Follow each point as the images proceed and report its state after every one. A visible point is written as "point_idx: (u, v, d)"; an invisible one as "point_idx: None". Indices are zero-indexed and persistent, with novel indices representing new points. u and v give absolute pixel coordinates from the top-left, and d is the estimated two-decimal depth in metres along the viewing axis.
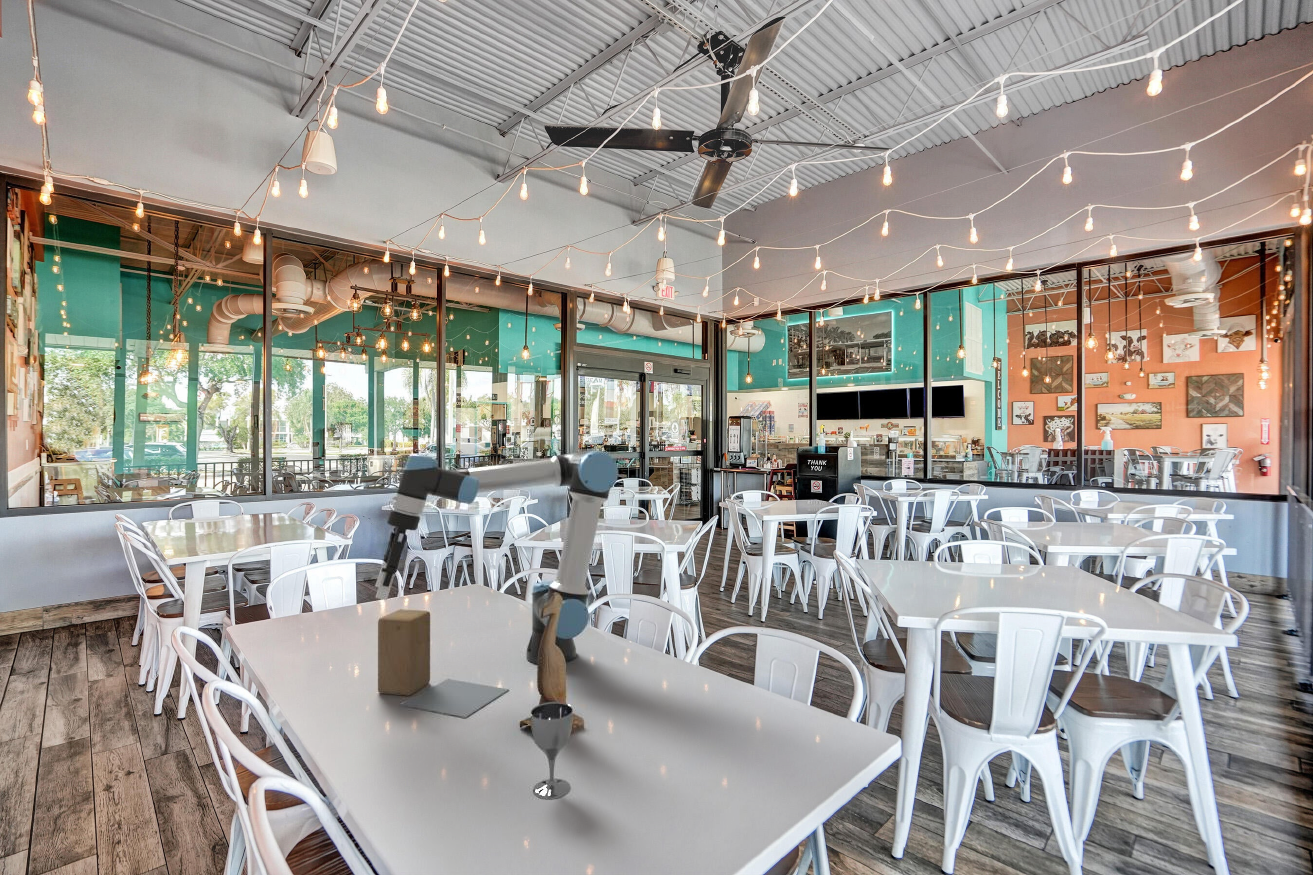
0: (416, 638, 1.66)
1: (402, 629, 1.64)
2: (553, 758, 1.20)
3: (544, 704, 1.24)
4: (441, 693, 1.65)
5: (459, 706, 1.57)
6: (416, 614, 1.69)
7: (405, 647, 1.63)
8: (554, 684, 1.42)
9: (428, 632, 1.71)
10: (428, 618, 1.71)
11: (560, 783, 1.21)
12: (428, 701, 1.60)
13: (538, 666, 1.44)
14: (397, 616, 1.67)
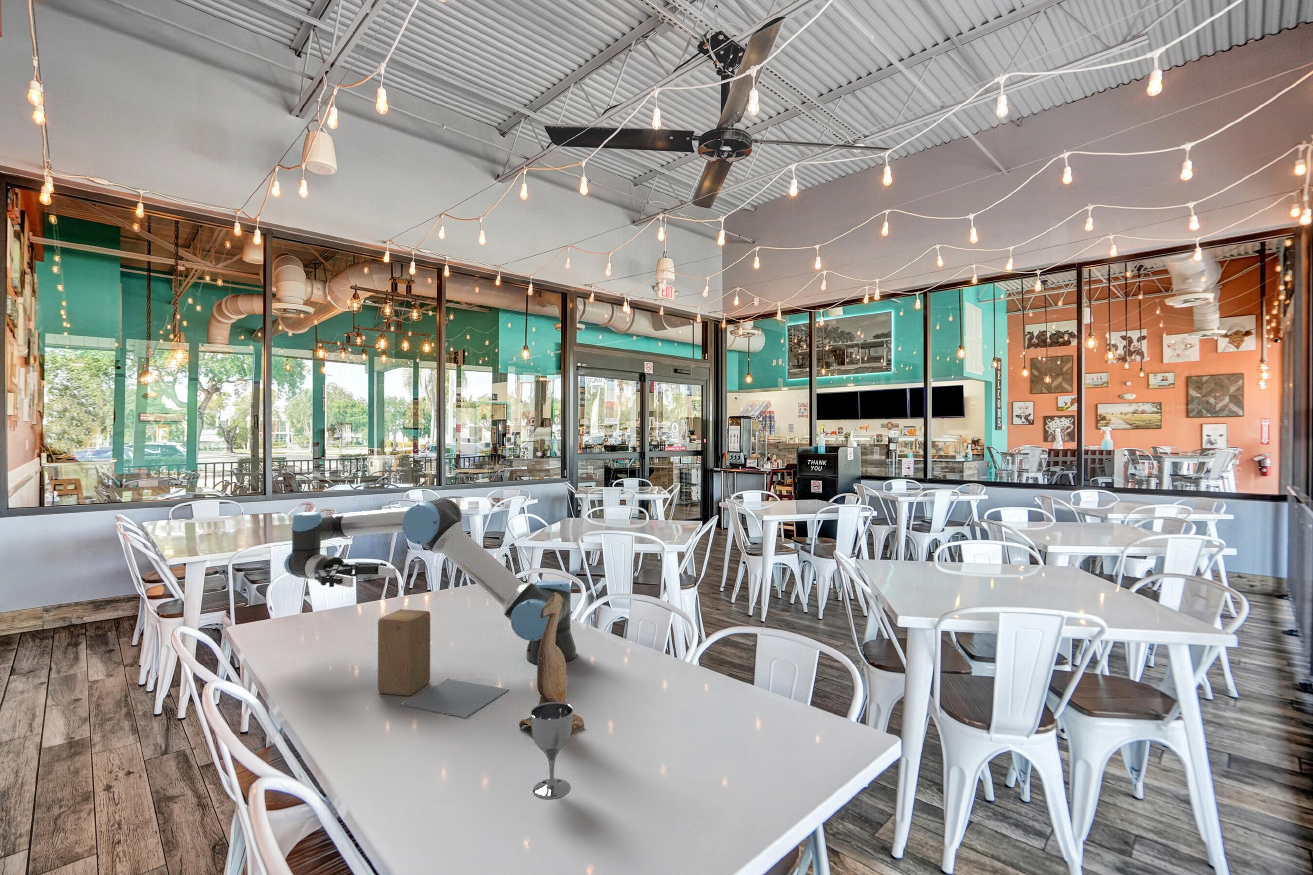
0: (416, 638, 1.66)
1: (402, 629, 1.64)
2: (553, 758, 1.20)
3: (544, 704, 1.24)
4: (441, 693, 1.65)
5: (459, 706, 1.57)
6: (416, 614, 1.69)
7: (405, 647, 1.63)
8: (554, 684, 1.42)
9: (428, 632, 1.71)
10: (428, 618, 1.71)
11: (560, 783, 1.21)
12: (428, 701, 1.60)
13: (538, 666, 1.44)
14: (397, 616, 1.67)
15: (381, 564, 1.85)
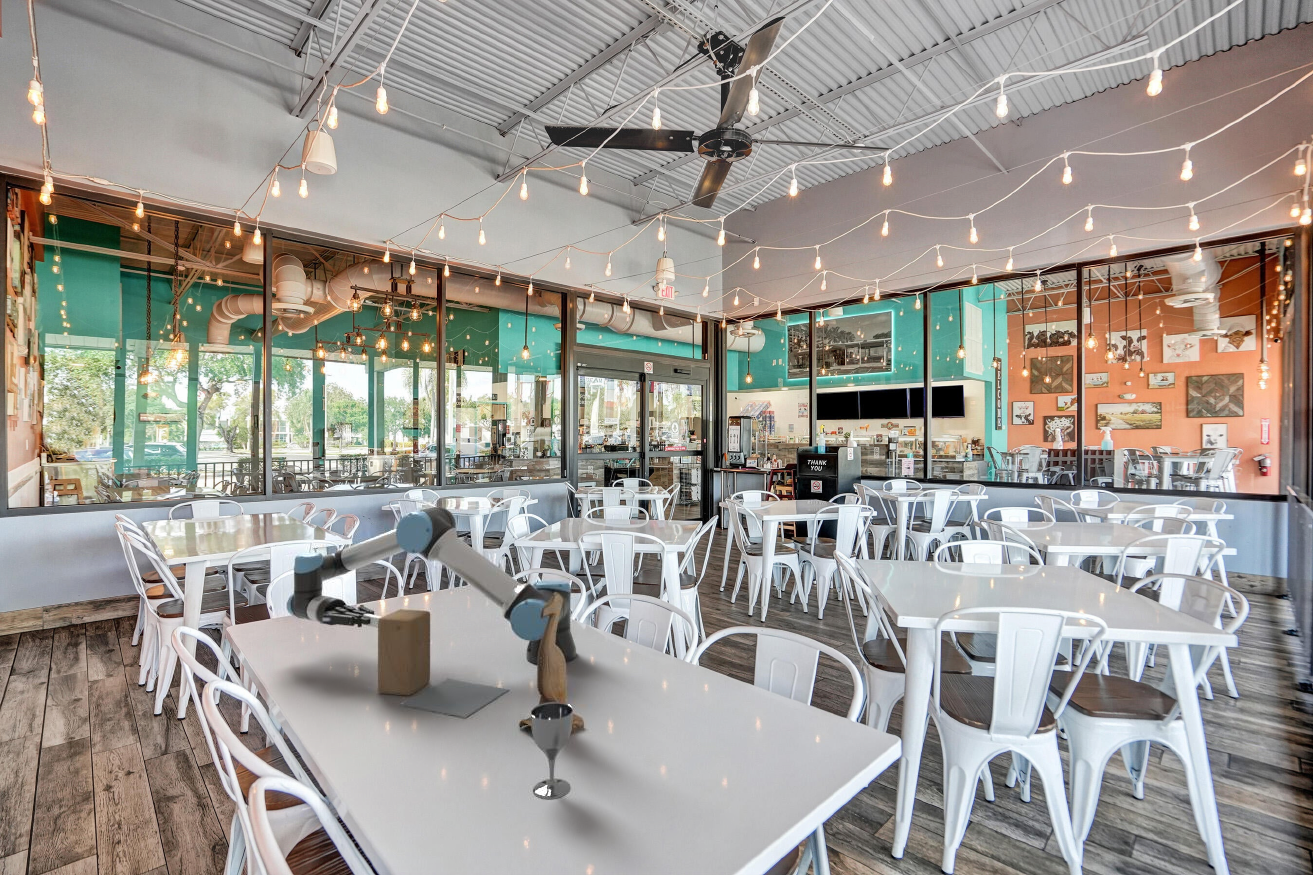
0: (416, 638, 1.66)
1: (402, 629, 1.64)
2: (553, 758, 1.20)
3: (544, 704, 1.24)
4: (441, 693, 1.65)
5: (459, 706, 1.57)
6: (416, 614, 1.69)
7: (405, 647, 1.63)
8: (554, 684, 1.42)
9: (428, 632, 1.71)
10: (428, 618, 1.71)
11: (560, 783, 1.21)
12: (428, 701, 1.60)
13: (538, 666, 1.44)
14: (397, 616, 1.67)
15: (367, 612, 1.78)
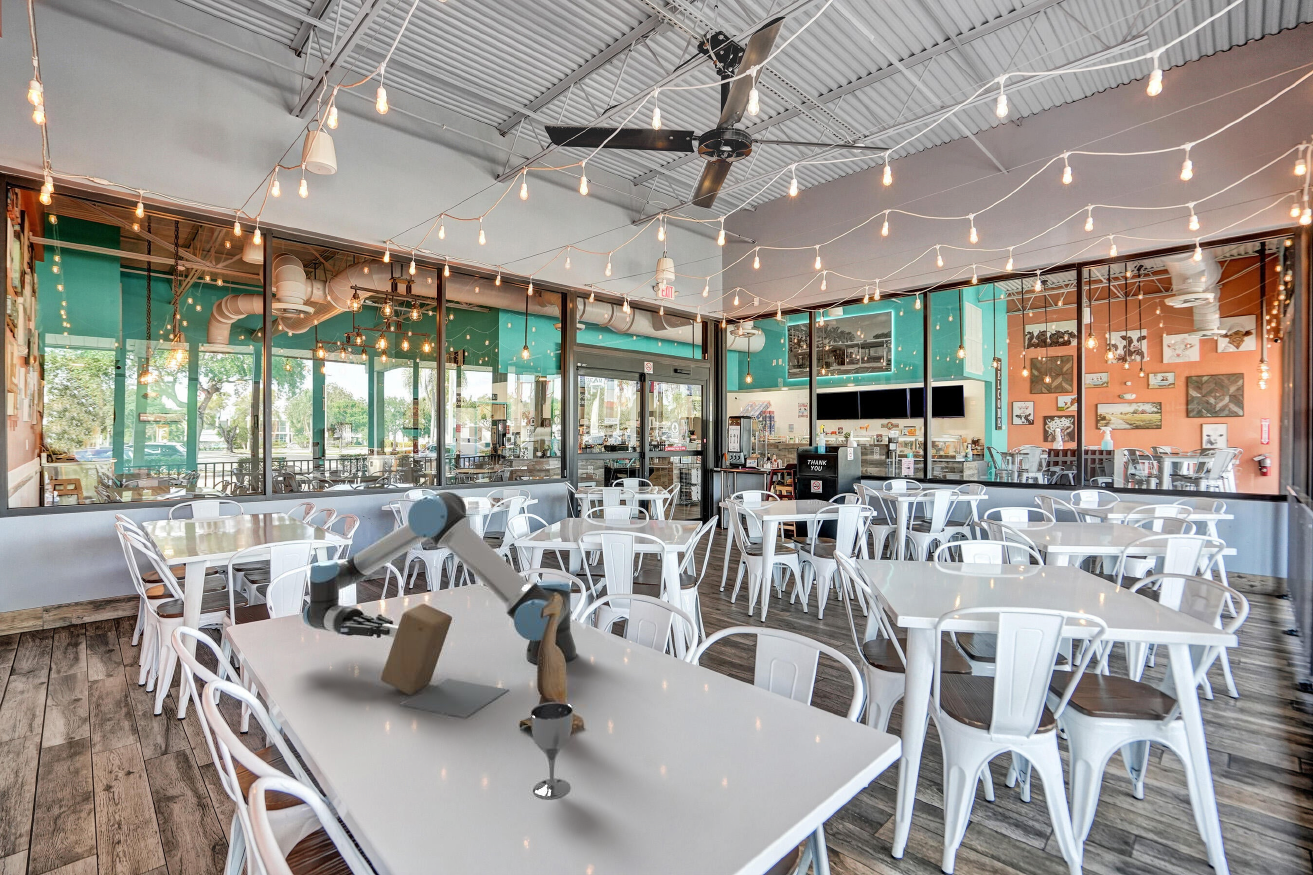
0: (433, 642, 1.65)
1: (423, 632, 1.62)
2: (553, 758, 1.20)
3: (544, 704, 1.24)
4: (441, 693, 1.65)
5: (459, 706, 1.57)
6: (440, 618, 1.67)
7: (421, 649, 1.63)
8: (554, 684, 1.42)
9: (444, 636, 1.70)
10: (449, 623, 1.70)
11: (560, 783, 1.21)
12: (428, 701, 1.60)
13: (538, 666, 1.44)
14: (422, 615, 1.65)
15: (386, 622, 1.73)
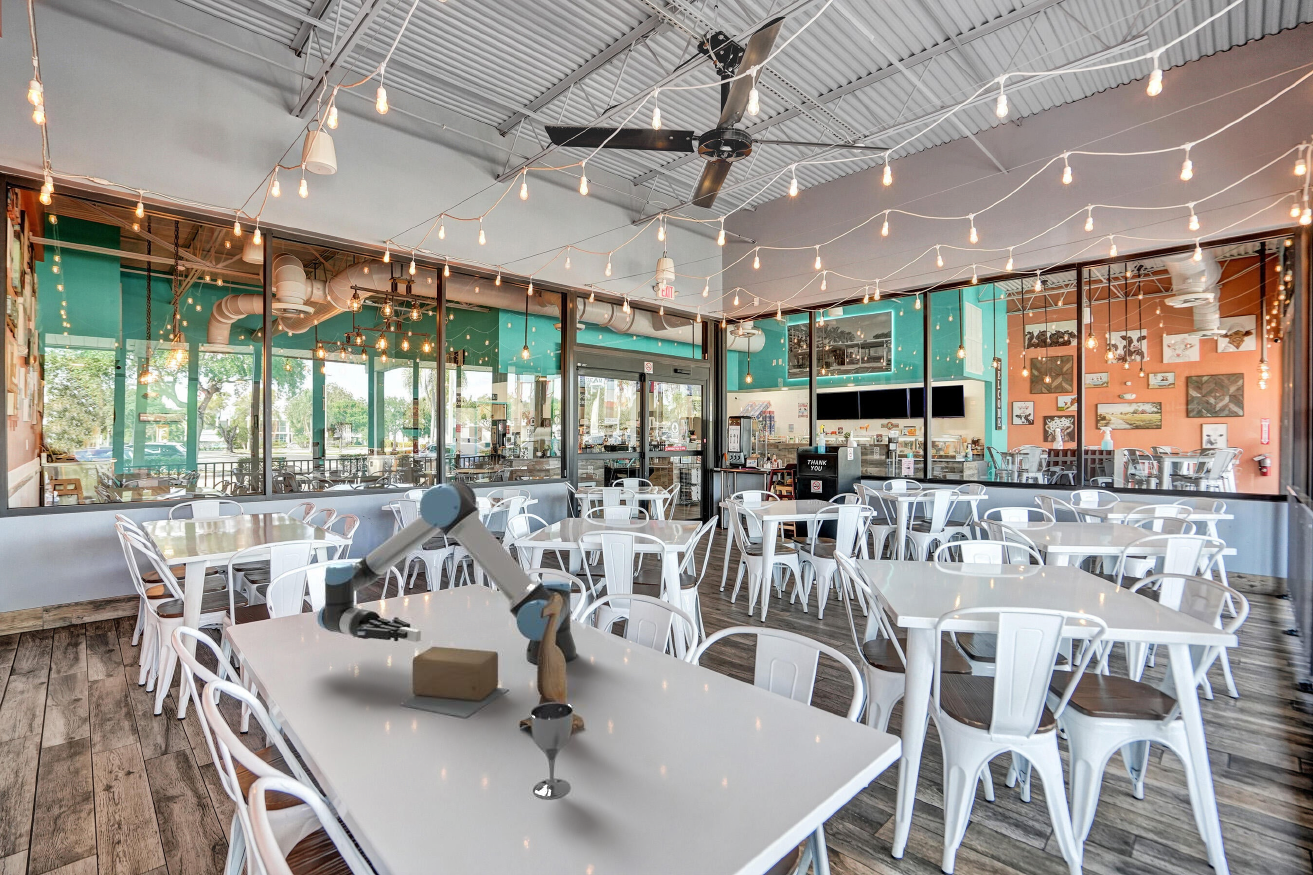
0: None
1: (471, 692, 1.60)
2: (553, 758, 1.20)
3: (544, 704, 1.24)
4: None
5: (459, 706, 1.57)
6: (491, 688, 1.64)
7: (455, 694, 1.60)
8: (554, 684, 1.42)
9: None
10: None
11: (560, 783, 1.21)
12: (428, 701, 1.60)
13: (538, 666, 1.44)
14: (486, 677, 1.61)
15: (403, 625, 1.70)
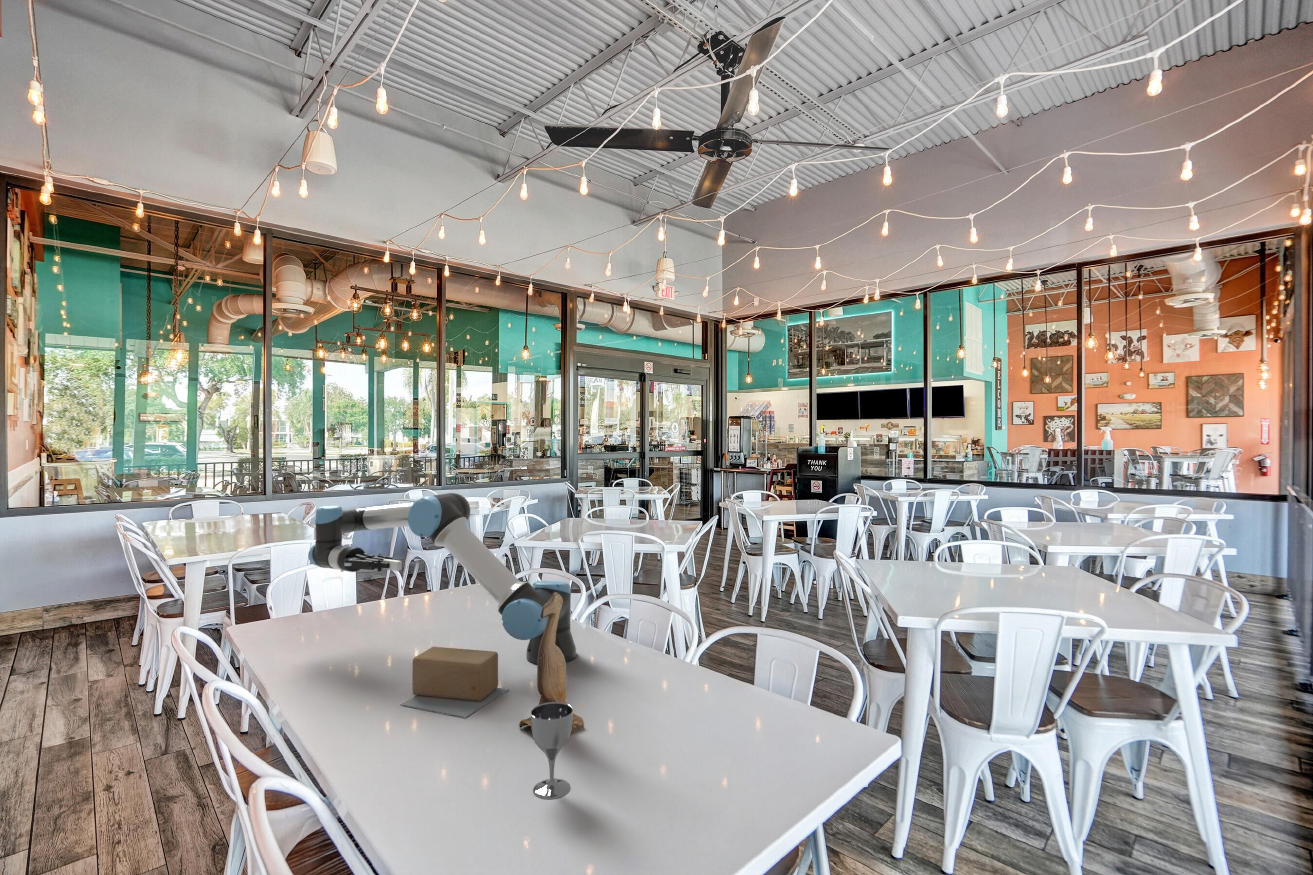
0: None
1: (471, 692, 1.60)
2: (553, 758, 1.20)
3: (544, 704, 1.24)
4: None
5: (459, 706, 1.57)
6: (491, 688, 1.64)
7: (455, 694, 1.60)
8: (554, 684, 1.42)
9: None
10: None
11: (560, 783, 1.21)
12: (428, 701, 1.60)
13: (538, 666, 1.44)
14: (486, 677, 1.61)
15: (386, 558, 1.88)
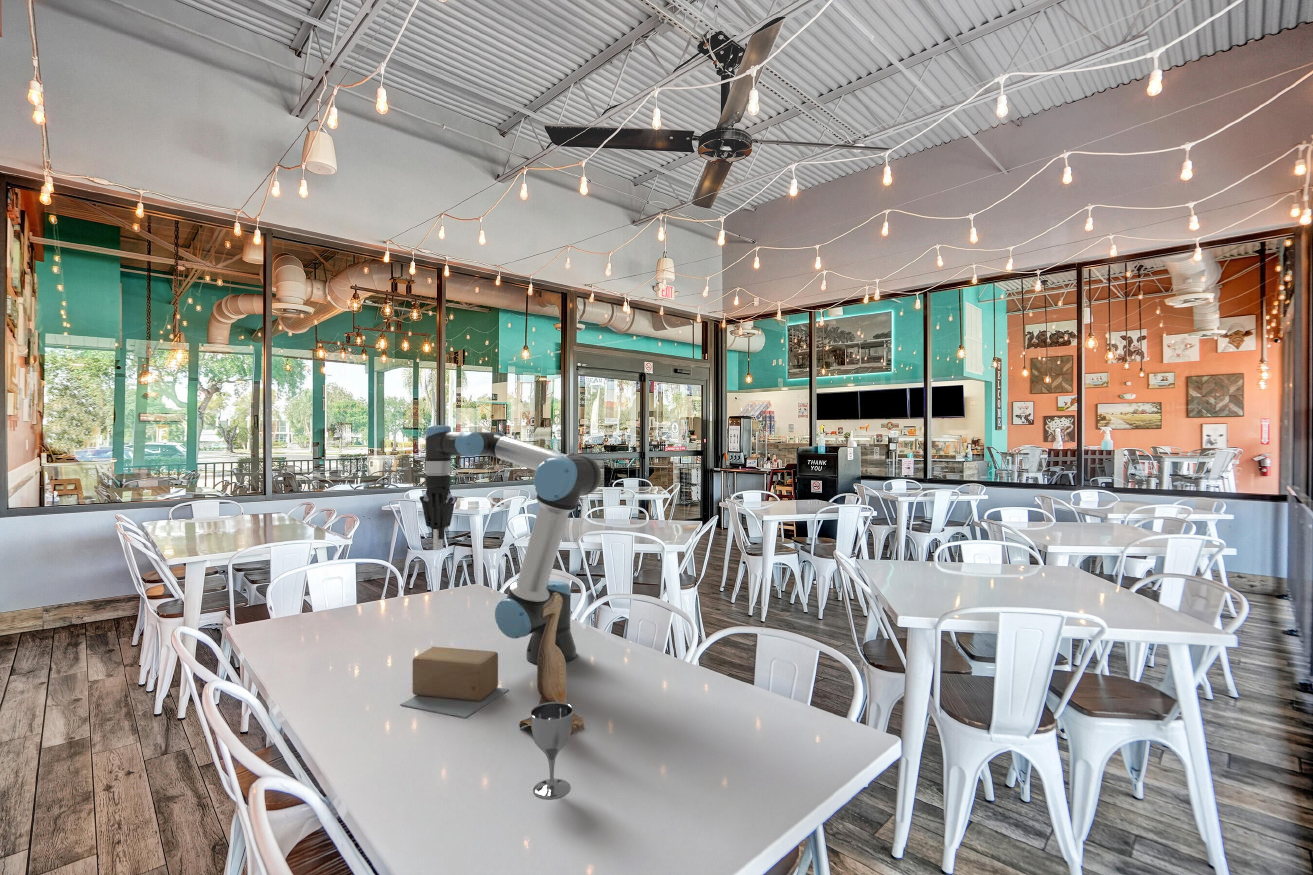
0: None
1: (471, 692, 1.60)
2: (553, 758, 1.20)
3: (544, 704, 1.24)
4: None
5: (459, 706, 1.57)
6: (491, 688, 1.64)
7: (455, 694, 1.60)
8: (554, 684, 1.42)
9: None
10: None
11: (560, 783, 1.21)
12: (428, 701, 1.60)
13: (538, 666, 1.44)
14: (486, 677, 1.61)
15: None
